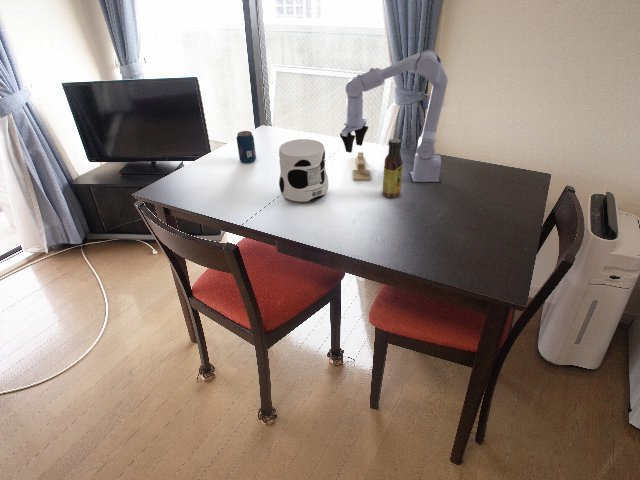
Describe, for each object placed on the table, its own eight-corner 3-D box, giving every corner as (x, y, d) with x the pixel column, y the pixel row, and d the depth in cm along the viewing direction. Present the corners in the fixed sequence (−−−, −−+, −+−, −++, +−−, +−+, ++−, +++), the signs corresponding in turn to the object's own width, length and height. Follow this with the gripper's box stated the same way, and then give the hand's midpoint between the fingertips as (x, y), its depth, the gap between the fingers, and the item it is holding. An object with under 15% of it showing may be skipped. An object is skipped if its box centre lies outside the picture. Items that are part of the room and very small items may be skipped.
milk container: (290, 181, 159) (287, 136, 149) (334, 186, 155) (333, 140, 145) (272, 203, 146) (267, 155, 136) (320, 209, 141) (318, 160, 131)
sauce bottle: (399, 199, 146) (404, 145, 134) (381, 198, 147) (384, 144, 135) (400, 190, 151) (405, 137, 139) (383, 189, 152) (386, 136, 141)
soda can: (238, 159, 178) (233, 132, 171) (253, 156, 180) (250, 129, 173) (242, 165, 173) (238, 137, 166) (258, 162, 175) (255, 134, 168)
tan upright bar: (369, 180, 158) (370, 173, 157) (353, 180, 158) (354, 173, 157) (367, 158, 175) (367, 152, 173) (352, 158, 175) (352, 152, 173)
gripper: (355, 105, 158) (354, 140, 166) (334, 116, 148) (334, 152, 156) (371, 108, 154) (370, 143, 162) (351, 120, 145) (351, 156, 153)
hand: (354, 148), depth 159 cm, fingers open, 7 cm apart
